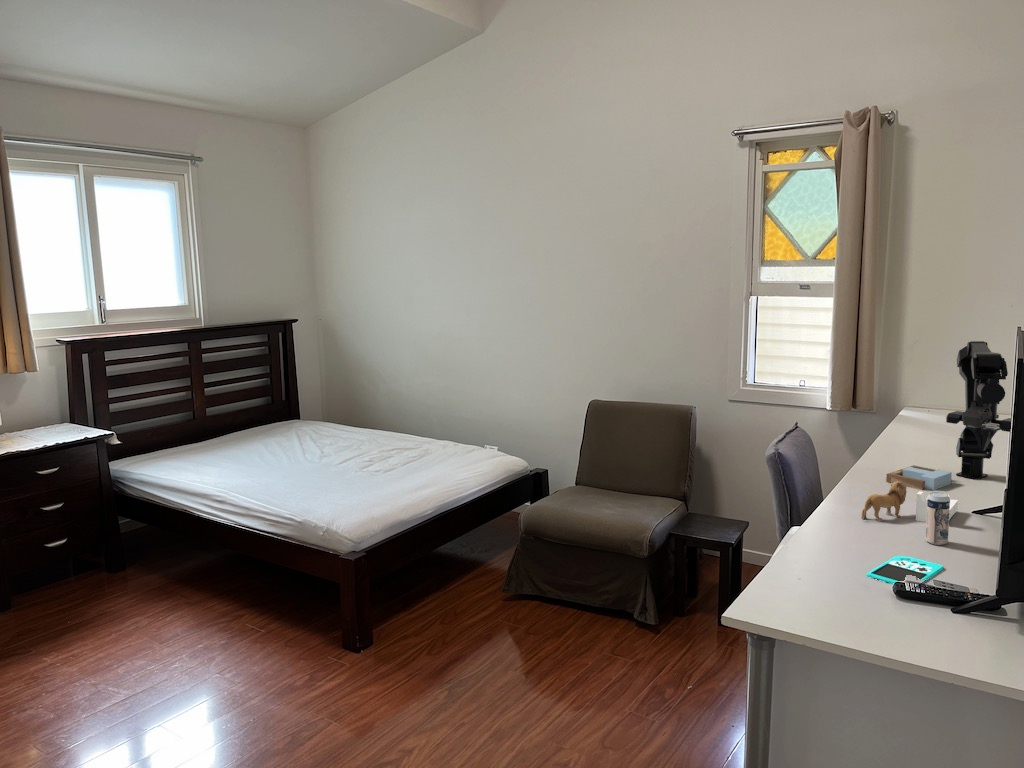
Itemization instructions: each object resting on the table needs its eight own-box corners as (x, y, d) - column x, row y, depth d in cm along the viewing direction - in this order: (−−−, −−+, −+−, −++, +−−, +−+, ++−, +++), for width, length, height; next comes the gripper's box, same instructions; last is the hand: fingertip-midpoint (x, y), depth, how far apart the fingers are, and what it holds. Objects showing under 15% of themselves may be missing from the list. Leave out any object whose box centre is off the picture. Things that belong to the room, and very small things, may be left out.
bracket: (946, 526, 192) (947, 498, 190) (915, 521, 196) (916, 493, 195) (957, 513, 201) (958, 485, 200) (927, 508, 206) (928, 481, 205)
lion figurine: (893, 510, 205) (895, 478, 204) (911, 515, 200) (912, 482, 199) (855, 519, 199) (856, 486, 198) (872, 525, 194) (873, 491, 193)
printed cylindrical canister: (939, 547, 178) (942, 499, 176) (920, 541, 182) (923, 493, 180) (952, 543, 180) (954, 495, 178) (933, 537, 184) (935, 490, 182)
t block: (914, 476, 235) (915, 465, 234) (951, 483, 226) (951, 472, 225) (896, 482, 229) (897, 471, 229) (933, 490, 220) (933, 478, 220)
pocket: (913, 472, 238) (913, 465, 238) (948, 480, 229) (949, 472, 228) (886, 481, 230) (886, 474, 230) (922, 489, 221) (922, 481, 220)
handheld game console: (945, 570, 166) (945, 565, 166) (913, 592, 156) (913, 586, 156) (898, 558, 174) (898, 553, 174) (865, 578, 164) (865, 573, 164)
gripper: (937, 396, 217) (934, 449, 220) (1007, 405, 201) (1003, 461, 204) (957, 392, 223) (955, 443, 225) (1027, 400, 207) (1023, 454, 210)
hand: (982, 450), depth 216 cm, fingers closed
